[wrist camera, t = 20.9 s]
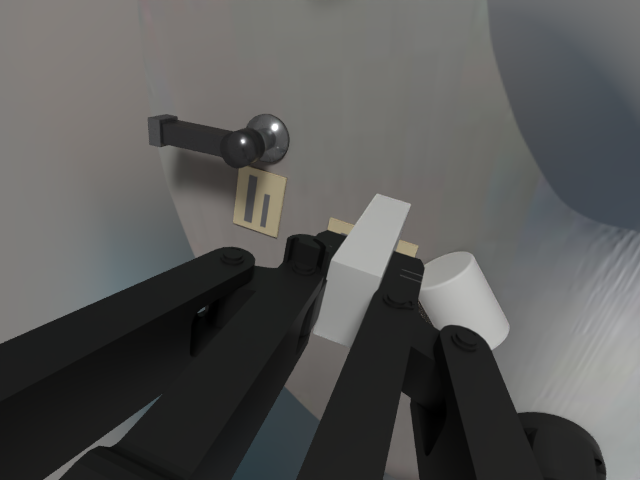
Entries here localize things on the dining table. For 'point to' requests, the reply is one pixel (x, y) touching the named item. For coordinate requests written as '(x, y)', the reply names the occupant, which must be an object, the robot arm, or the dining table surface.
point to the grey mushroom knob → (271, 136)
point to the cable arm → (207, 139)
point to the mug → (462, 297)
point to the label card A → (259, 200)
